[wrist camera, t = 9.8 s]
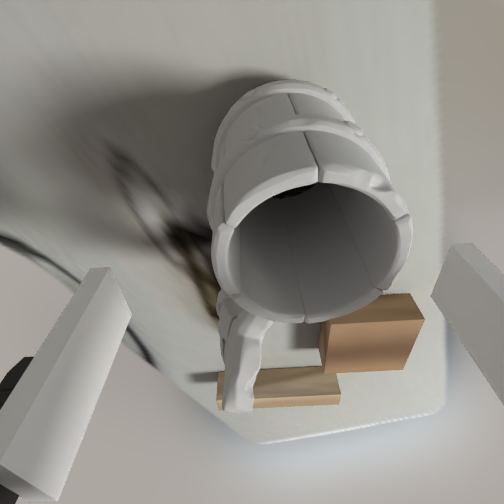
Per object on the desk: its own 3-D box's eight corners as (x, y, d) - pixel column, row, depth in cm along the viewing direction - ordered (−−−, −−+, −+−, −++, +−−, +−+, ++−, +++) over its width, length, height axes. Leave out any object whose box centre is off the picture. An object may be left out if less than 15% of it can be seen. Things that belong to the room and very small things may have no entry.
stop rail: (218, 371, 32) (216, 400, 29) (333, 365, 31) (341, 394, 29) (221, 381, 33) (219, 410, 31) (332, 375, 32) (338, 404, 30)
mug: (379, 113, 16) (563, 254, 7) (278, 267, 23) (300, 445, 13) (247, 43, 14) (250, 104, 5) (179, 233, 21) (123, 416, 11)
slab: (323, 295, 25) (330, 324, 23) (408, 290, 25) (424, 319, 23) (317, 344, 30) (323, 373, 27) (390, 341, 29) (402, 369, 27)
